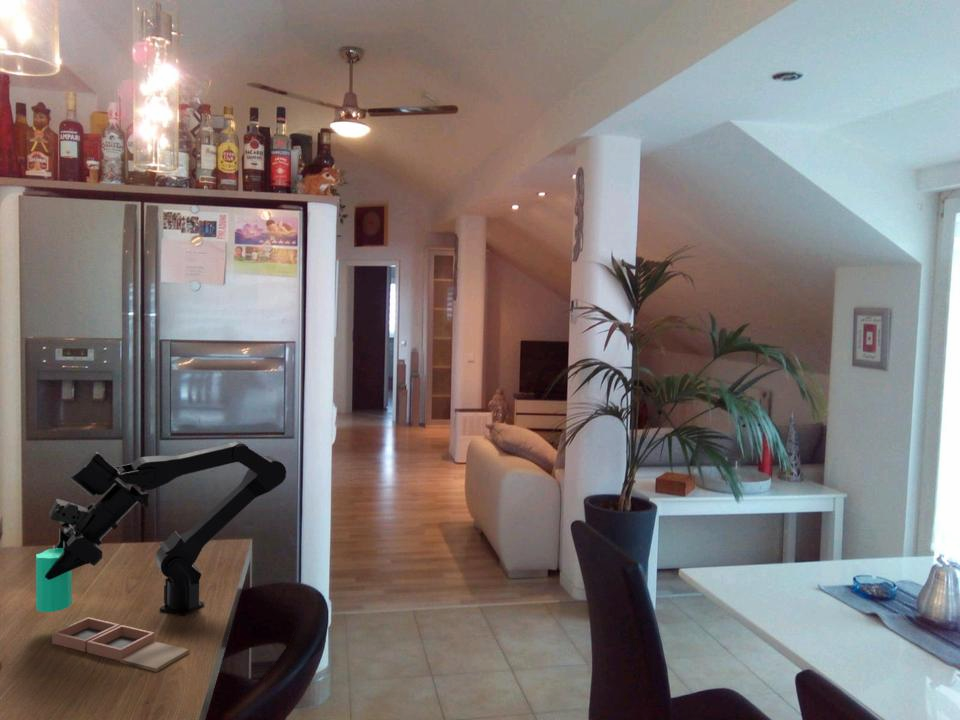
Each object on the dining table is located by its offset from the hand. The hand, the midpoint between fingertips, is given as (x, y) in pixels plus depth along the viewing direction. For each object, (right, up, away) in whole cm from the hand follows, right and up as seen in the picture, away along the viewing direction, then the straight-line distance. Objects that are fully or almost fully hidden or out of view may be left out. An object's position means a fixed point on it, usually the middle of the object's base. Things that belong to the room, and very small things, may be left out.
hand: (45, 573), depth 142 cm
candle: (+1, -7, +1) cm, 7 cm away
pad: (+24, -13, -8) cm, 29 cm away
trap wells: (+13, -12, -3) cm, 18 cm away
